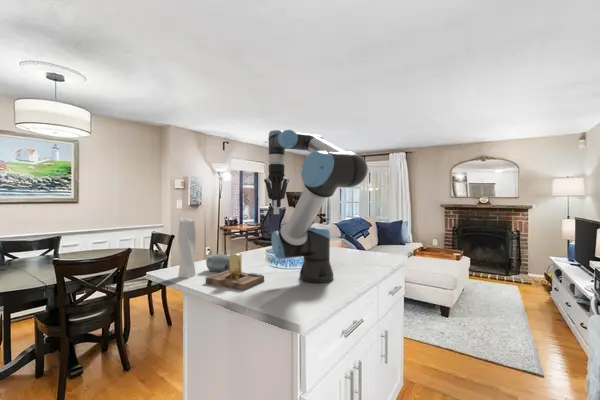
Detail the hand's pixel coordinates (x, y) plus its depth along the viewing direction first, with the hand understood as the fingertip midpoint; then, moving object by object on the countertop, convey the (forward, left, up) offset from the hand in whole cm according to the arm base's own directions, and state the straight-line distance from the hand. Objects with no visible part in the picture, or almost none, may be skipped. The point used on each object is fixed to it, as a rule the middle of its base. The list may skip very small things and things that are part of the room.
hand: (276, 214), depth 137 cm
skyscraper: (+34, +23, -29) cm, 50 cm away
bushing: (+8, +20, -28) cm, 36 cm away
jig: (+8, +20, -28) cm, 36 cm away
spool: (+27, +9, -29) cm, 40 cm away
